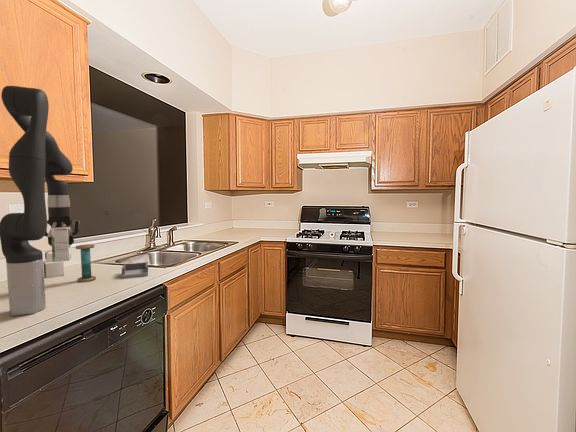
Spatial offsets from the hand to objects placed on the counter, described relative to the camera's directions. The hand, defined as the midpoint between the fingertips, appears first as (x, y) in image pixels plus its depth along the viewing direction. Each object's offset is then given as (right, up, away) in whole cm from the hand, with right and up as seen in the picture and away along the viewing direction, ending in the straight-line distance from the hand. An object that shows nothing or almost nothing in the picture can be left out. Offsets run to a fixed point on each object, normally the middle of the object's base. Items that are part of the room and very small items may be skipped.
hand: (61, 245), depth 126 cm
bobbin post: (+4, -17, +10) cm, 20 cm away
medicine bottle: (-17, -17, +18) cm, 30 cm away
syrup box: (0, -7, +1) cm, 7 cm away
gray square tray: (+22, -16, +19) cm, 33 cm away
